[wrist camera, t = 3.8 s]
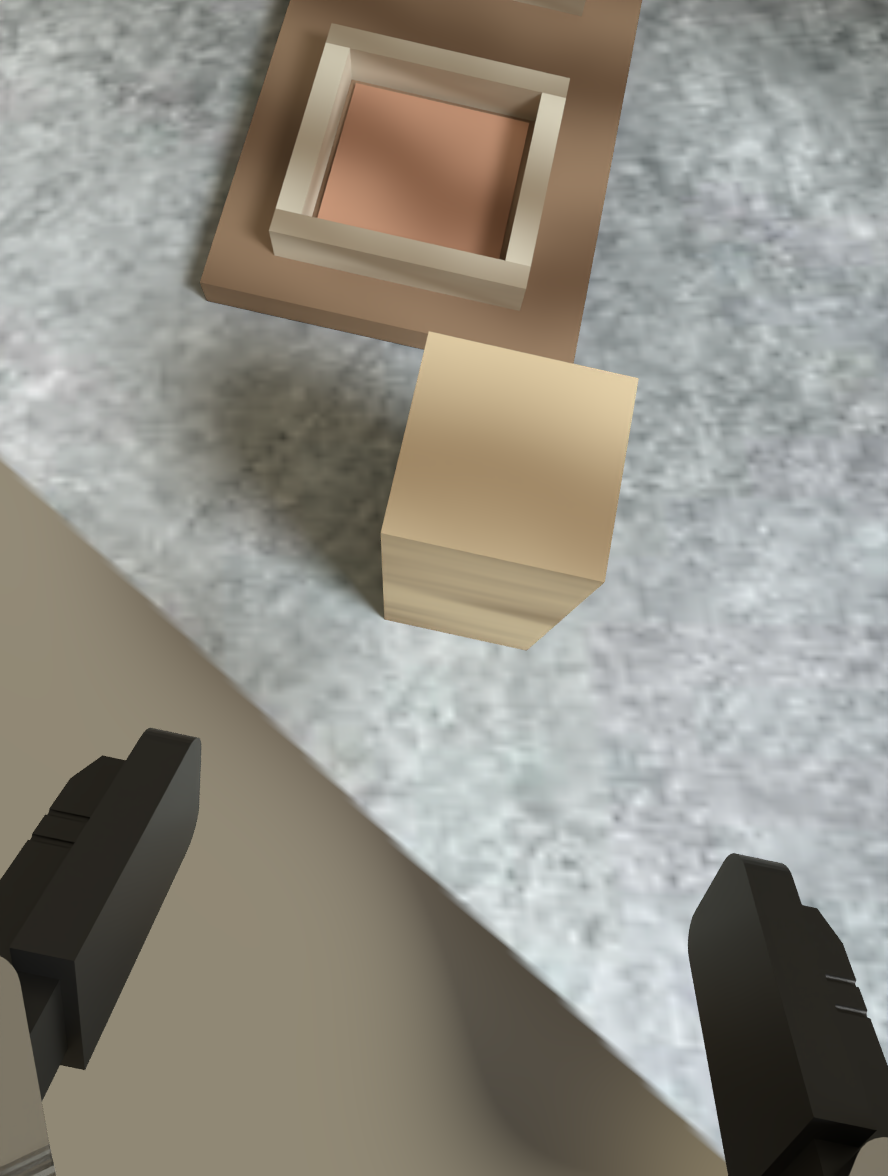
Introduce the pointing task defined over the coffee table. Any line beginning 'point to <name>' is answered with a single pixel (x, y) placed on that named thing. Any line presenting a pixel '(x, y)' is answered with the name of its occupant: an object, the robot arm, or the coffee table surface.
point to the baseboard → (429, 169)
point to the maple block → (503, 491)
